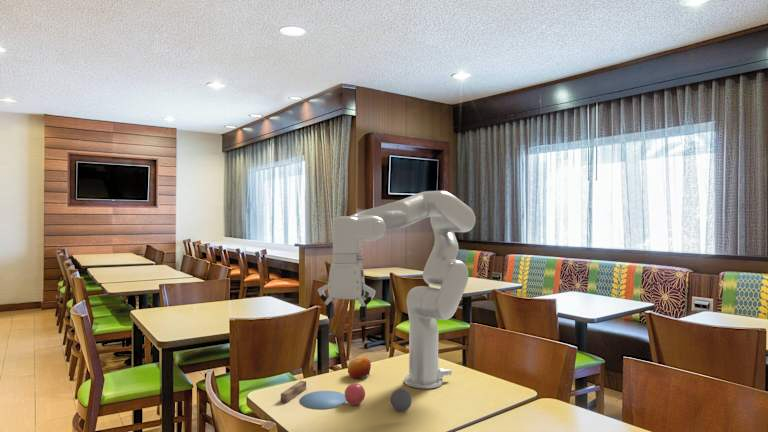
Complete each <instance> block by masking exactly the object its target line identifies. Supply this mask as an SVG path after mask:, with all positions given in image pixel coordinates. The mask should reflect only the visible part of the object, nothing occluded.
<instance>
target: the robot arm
mask: <svg viewBox="0 0 768 432" xmlns="http://www.w3.org/2000/svg"><path fill="white" fill-rule="evenodd" d="M427 218H430V220H429V221H430V225H431V228H432V231H433V235H434V245H433V247H432V250H431V252H430V255H429V256H428V259H427V260H426V263H425V265H424V269H423V271H422V279H423V281H424V282H425V283H426V284H428V285H431V286H426V285H420V286H414V287H413V288H411V289H410V290H409V291H408V293H407V296H406V307H407V313H408V322H409V328H408V330H409V331H408V333H409V337H408V341H409V342H408V343H409V345H408V349H409V350H408V351H409V353H408V354H409V356H408V362H409V363H408V369H409V370H408V375H406V376H404V384H405V385H407V386H408V387H411V388H414V389H419V390H420V389H421V390H424V389H425V390H427V389H429V390H430V389H435V388H436V389H437V388H440V387H441V386H442V385H443V383H444V380H443V377H444V376H451V375H452V370H451V368H446V369H445V368H444V367H441V368H440V367H439V326H438V322H437V320H439V321H446V320H449V319H451V318H452V317H453V316H454V315H455V313H456V312H457V310H458V307H459V304H460V303H461V299H462V297H463V295H464V292H465V289H466V287H467V285H468V281H469V269H468V266H467V265H466V263H464V262H463V261H461V260H459V259H457V257H458V253H459V250H460V249H459V248H460V247H459V242H458V240H457V237H456V235H455V233H468V232H470V231H472V229H473V228H475V224H476V215H475V212H474V210H473V209H472V207H470V206H469V205H467V204H466V203H464V202H463V201H462V200H461V199H459V198H458V197H457V196H456V195H453V193H450V192H448V191H446V190H427V191H421V192H418V193H415V194H413V195H410V196H408V197H405V198H403V199H399V200H396V201H394V202H390V203H386V204H382V205H380V206H379V205H378V206H375V207H372V208H368V209H365V210H362V211H359V212H357V213H354V214H352V215H350V216H348V215H346V216H342V215H340V216H335V217H334V218H333V220H332V263H331V264H330V267H329V272H328V282H327V284H325V285H322V286H321V287H319V288H317V293H318V294H319V297H320V299H321V301H323V302H324V305H325V306H326V307H325V308H326V314H325V315H326V316H327V319H328V320H330V319H332V318H334V317H335V314H334V313H335V312H334V311H335V310H334V309H335V307H334V306H335V305H334V303H333V302H334V301H335V300H350V301H352V300H357V302H358V303H359V304H360V306H359V321H364V320H365V319H366V318H367V316H368V314H367V313H368V312H367V311H368V310H367V309H368V308H367V307H368V306H367V305H369V303H370V302H372V300H373V298H374V297H375V294H376V290H375V289H374V288H372V287H371V286H369V285H367V284H366V282H365V273H364V271H365V270H364V268H363V264H362V263H360V262H361V261H364V259H365V257H364V255H361V253H360V241H366V242H373V241H374V242H376V241H377V240H380V239H381V238H383V236H385V234H386V230H392V229H393V230H394V229H395V230H397V229H400V228H406V227H408V226H411V225H413V224H415V223H417V222H420V221H423V220H425V219H427ZM432 286H433V287H432ZM434 286H435V287H434ZM437 287H439V288H437ZM326 290H327V294H326V293H325V292H326ZM366 292H367V293H368V296H367V298H366V297H365V296H366Z"/></svg>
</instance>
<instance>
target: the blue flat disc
mask: <svg viewBox="0 0 768 432" xmlns="http://www.w3.org/2000/svg"><path fill="white" fill-rule="evenodd" d="M346 403H348V402H347V401H346V399H345V393H342V392H339V391H334V390H318V391H312V392H309V393H306V394H303V395H302V396H301V397H300V399H299V404H301V405H302V406H303V407H305V408H308V409H314V410H329V409H336V408H338V407H341V406H343V405H345V404H346Z"/></svg>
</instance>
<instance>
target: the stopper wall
mask: <svg viewBox="0 0 768 432" xmlns="http://www.w3.org/2000/svg"><path fill="white" fill-rule="evenodd" d="M306 390H307V381H304V380H299V381H298V382H297V383H294V384H293V385H292V386H289V388H287V389H286V390H284V391H283V392H281V393H280V403H283V404H287V403H289V402H290V401H292V400H293V399H294V398H296V397H298V396H299V395H300V394H302V393H303V392H304V391H306Z"/></svg>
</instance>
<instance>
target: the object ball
mask: <svg viewBox="0 0 768 432" xmlns="http://www.w3.org/2000/svg"><path fill="white" fill-rule="evenodd" d="M344 395H345V399H346V401H347V402H346V403H348V404H350V405H352V406H357V405H359V404H361V403H363V401H364V399H365V397H366V391H365V388H364V386H362V385H361V384H360V383H358V382H354V383H350V384H349V385H348V386H346V388H345V391H344Z"/></svg>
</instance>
